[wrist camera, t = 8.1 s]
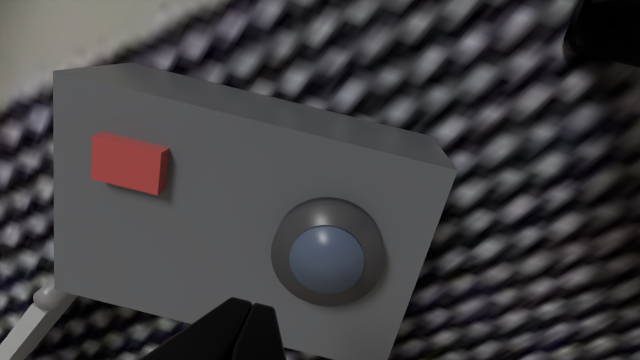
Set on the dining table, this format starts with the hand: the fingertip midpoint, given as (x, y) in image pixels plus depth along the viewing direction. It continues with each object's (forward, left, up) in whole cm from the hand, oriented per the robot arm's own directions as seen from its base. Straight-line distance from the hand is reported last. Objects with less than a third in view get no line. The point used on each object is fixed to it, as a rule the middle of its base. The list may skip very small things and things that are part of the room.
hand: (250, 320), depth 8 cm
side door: (+12, +12, -12) cm, 20 cm away
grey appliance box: (+2, +2, -12) cm, 12 cm away
